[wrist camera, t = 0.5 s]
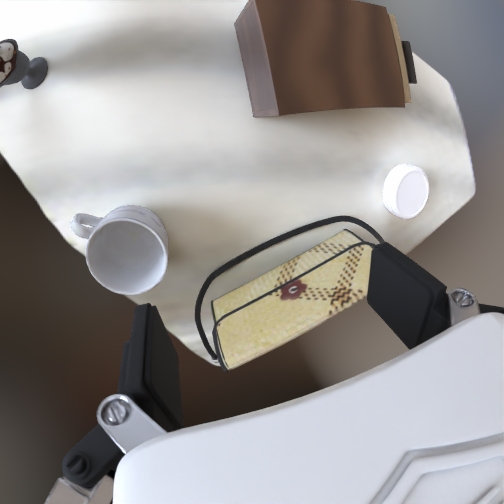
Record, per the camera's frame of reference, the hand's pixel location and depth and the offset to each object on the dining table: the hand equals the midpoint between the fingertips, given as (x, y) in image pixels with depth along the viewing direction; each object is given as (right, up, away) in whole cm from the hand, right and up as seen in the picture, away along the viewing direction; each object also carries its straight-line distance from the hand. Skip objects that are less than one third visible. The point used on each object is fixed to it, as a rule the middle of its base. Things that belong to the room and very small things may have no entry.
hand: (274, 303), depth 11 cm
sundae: (-32, +27, +12) cm, 44 cm away
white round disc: (+27, +14, +35) cm, 46 cm away
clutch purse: (+3, +1, +34) cm, 35 cm away
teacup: (-19, +6, +26) cm, 33 cm away
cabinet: (+6, +29, +21) cm, 37 cm away
